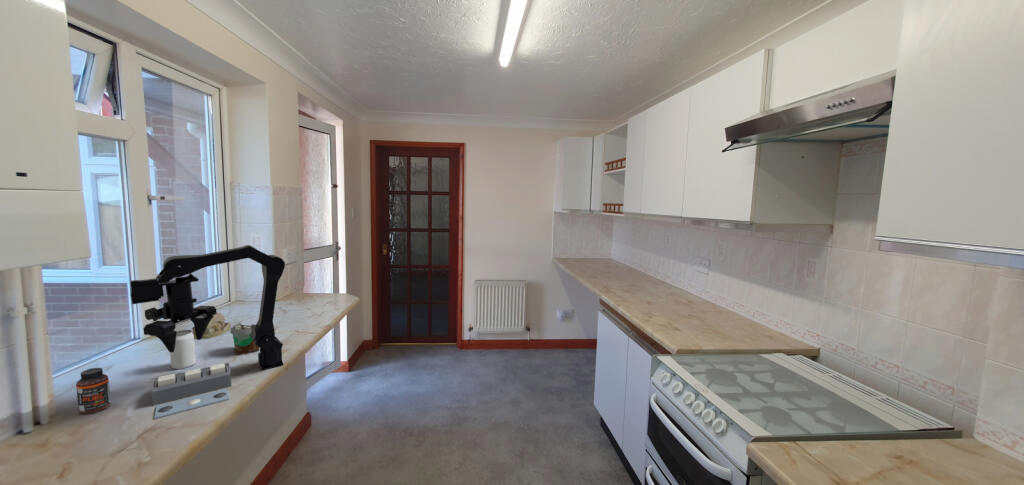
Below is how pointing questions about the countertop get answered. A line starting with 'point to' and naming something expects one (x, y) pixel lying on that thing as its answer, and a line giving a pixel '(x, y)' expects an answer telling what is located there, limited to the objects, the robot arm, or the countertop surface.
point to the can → (183, 350)
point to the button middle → (193, 374)
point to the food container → (243, 339)
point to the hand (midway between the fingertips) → (186, 345)
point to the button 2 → (217, 368)
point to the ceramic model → (215, 327)
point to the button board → (190, 385)
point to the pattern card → (191, 403)
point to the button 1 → (166, 380)
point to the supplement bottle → (93, 391)
